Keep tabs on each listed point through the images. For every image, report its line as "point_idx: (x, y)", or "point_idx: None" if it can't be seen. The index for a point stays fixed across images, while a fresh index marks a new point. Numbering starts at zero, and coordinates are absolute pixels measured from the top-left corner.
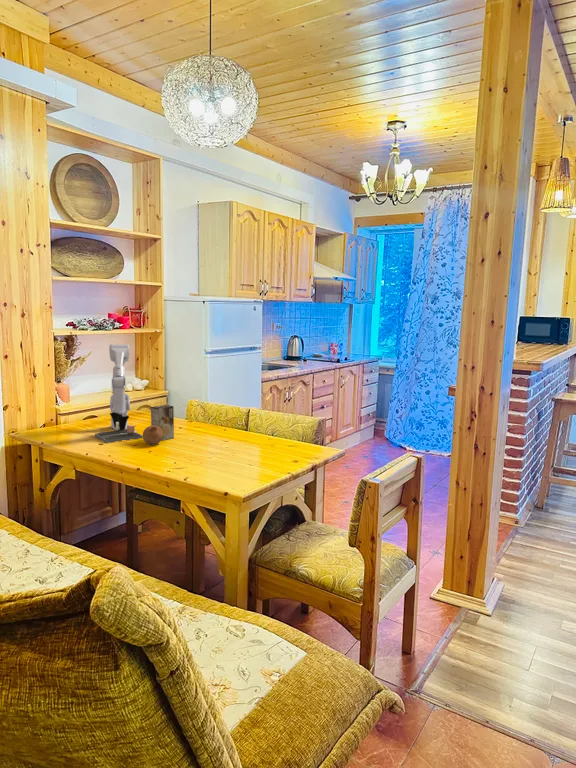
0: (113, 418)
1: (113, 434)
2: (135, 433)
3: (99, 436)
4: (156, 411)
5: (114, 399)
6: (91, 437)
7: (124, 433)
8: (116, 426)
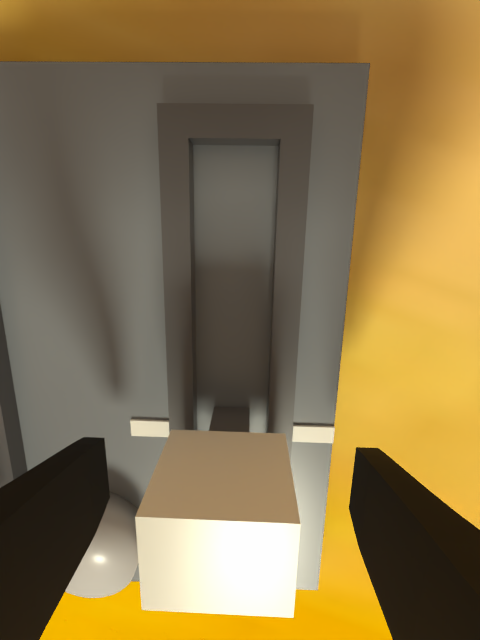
0: (467, 600)
1: (150, 315)
2: None
3: (116, 62)
4: None
5: None
6: (343, 18)
7: (140, 456)
8: (258, 456)
